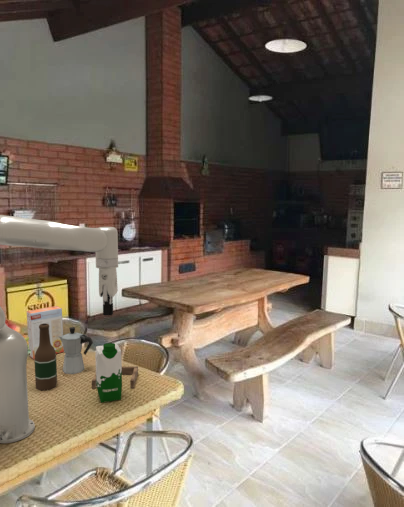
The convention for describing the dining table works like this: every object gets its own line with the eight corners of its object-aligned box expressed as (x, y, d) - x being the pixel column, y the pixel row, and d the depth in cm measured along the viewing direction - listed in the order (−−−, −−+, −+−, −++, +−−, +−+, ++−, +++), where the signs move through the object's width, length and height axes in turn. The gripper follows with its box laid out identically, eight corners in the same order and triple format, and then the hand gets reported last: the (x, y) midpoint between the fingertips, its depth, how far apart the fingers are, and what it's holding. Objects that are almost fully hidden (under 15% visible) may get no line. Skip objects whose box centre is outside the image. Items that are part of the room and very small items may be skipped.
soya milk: (98, 404, 145) (97, 348, 143) (95, 393, 154) (93, 340, 151) (124, 400, 149) (123, 345, 146) (119, 389, 157) (118, 337, 154)
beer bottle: (50, 392, 154) (47, 328, 151) (31, 390, 156) (28, 326, 153) (61, 383, 162) (59, 322, 159) (43, 381, 164) (40, 320, 160)
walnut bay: (133, 388, 158) (133, 380, 158) (92, 388, 158) (91, 380, 157) (137, 373, 171) (137, 366, 171) (99, 373, 171) (99, 366, 170)
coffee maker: (53, 373, 171) (52, 329, 169) (64, 364, 180) (63, 323, 177) (88, 376, 168) (87, 332, 166) (97, 367, 177) (96, 325, 175)
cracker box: (59, 348, 198) (57, 305, 195) (64, 352, 194) (62, 307, 191) (28, 355, 189) (26, 310, 186) (32, 359, 185) (30, 313, 182)
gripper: (114, 266, 139) (115, 321, 141) (121, 259, 153) (122, 309, 156) (91, 266, 138) (92, 321, 141) (100, 259, 153) (101, 309, 156)
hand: (108, 314), depth 148 cm, fingers closed
